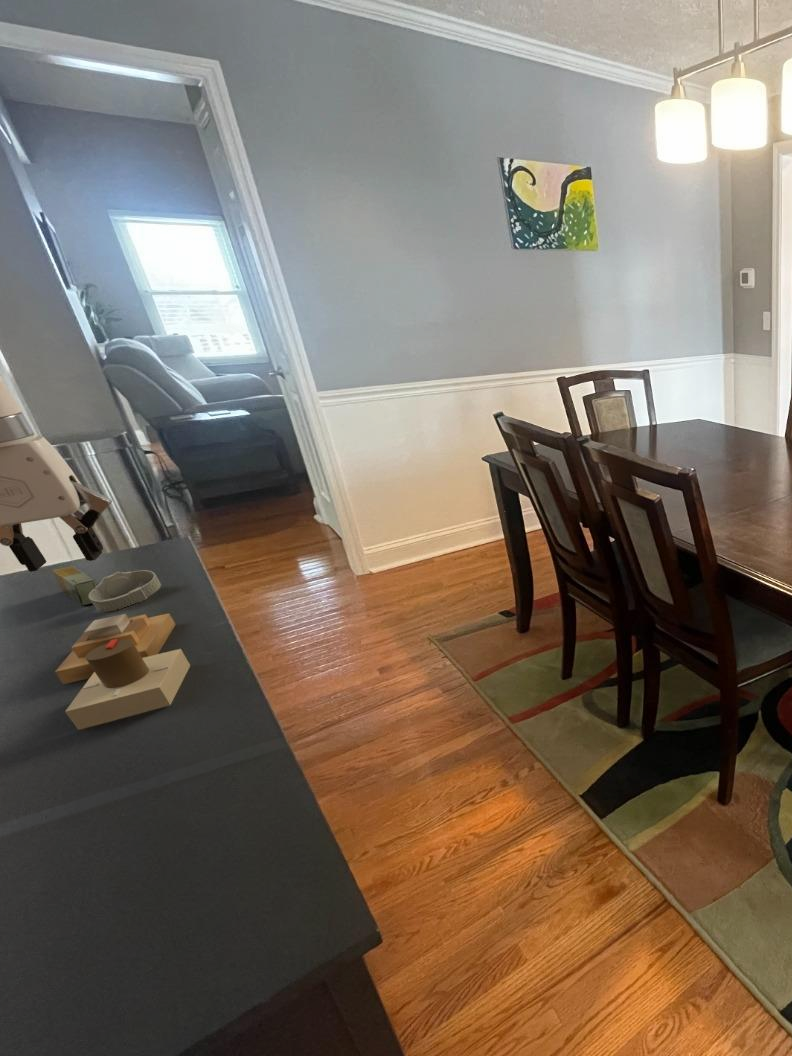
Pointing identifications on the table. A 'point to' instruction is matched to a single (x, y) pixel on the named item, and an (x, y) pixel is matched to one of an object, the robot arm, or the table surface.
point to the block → (141, 632)
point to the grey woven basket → (123, 590)
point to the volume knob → (117, 663)
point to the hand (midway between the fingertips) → (66, 560)
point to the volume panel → (130, 692)
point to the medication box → (75, 584)
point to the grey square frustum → (107, 627)
